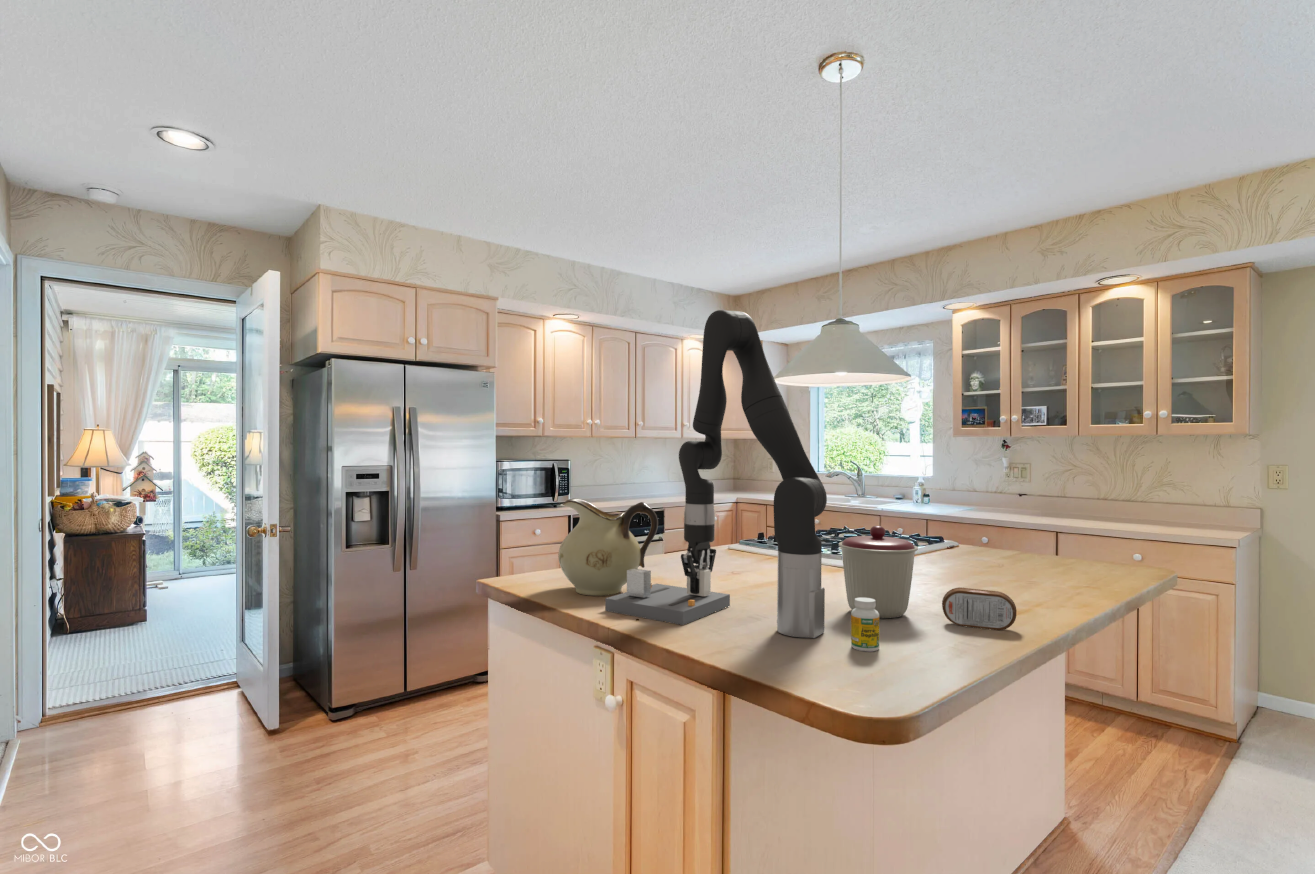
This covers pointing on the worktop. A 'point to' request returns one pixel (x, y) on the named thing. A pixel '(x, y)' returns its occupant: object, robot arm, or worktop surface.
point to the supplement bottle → (865, 625)
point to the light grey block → (639, 582)
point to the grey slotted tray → (668, 604)
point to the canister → (879, 571)
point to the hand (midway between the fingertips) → (698, 591)
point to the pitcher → (602, 548)
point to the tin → (979, 608)
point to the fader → (702, 583)
